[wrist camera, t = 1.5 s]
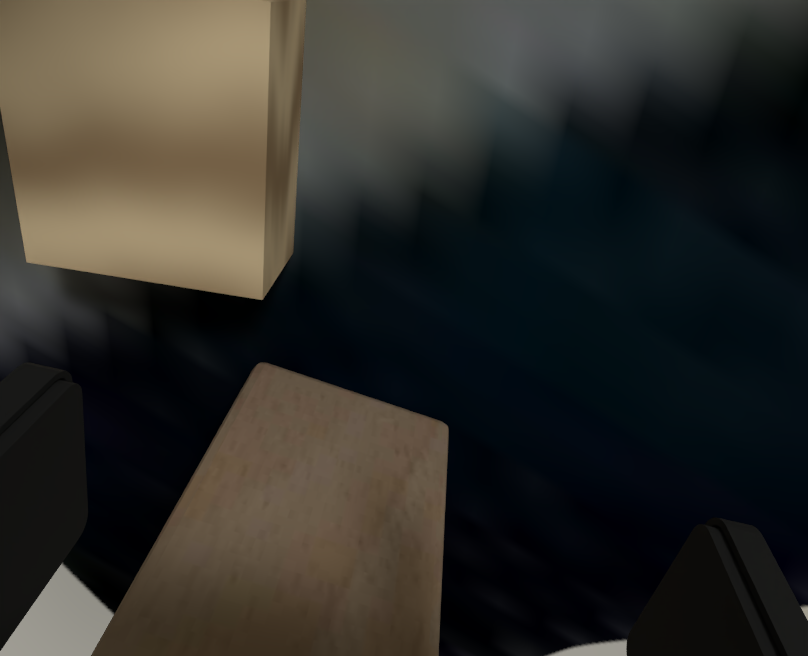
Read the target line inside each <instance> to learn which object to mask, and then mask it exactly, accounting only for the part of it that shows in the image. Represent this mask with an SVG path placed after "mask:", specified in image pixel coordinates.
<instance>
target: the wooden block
mask: <svg viewBox="0 0 808 656" xmlns="http://www.w3.org/2000/svg"><path fill="white" fill-rule="evenodd" d="M448 435H449V434H448V426H447V425H446V424H445V423H443V422H442V421H439V420H436V419H433V418H430V417H427V416H424V415H421V414H418V413H415V412H412V411H409V410H406V409H403V408H400V407H397V406H394V405H391V404H388V403H385V402H382V401H379V400H376V399H373V398H370V397H367V396H364V395H361V394H358V393H355V392H352V391H349V390H346V389H343V388H341V387H338V386H335V385H332V384H329V383H326V382H323V381H320V380H317V379H314V378H311V377H308V376H305V375H302V374H299V373H296V372H293V371H290V370H287V369H284V368H281V367H278V366H275V365H272V364H269V363H259V364H257V365H256V366H255V367H254V368H253V370H252V372H251V373H250V375H249V377H248V379H247V380H246V382H245V384H244V386H243V388H242V389H241V391H240V393H239V395H238V396H237V398H236V400H235V402H234V403H233V405H232V407H231V409H230V411H229V412H228V414H227V416H226V418H225V419H224V421H223V423H222V425H221V427H220V428H219V430H218V432H217V434H216V435H215V437H214V439H213V441H212V442H211V444H210V446H209V448H208V450H207V451H206V453H205V455H204V457H203V458H202V460H201V462H200V464H199V465H198V467H197V469H196V471H195V473H194V474H193V476H192V478H191V480H190V481H189V483H188V485H187V487H186V489H185V490H184V492H183V494H182V496H181V497H180V499H179V501H178V503H177V504H176V506H175V508H174V510H173V512H172V513H171V515H170V517H169V519H168V520H167V522H166V524H165V526H164V527H163V529H162V531H161V533H160V535H159V536H158V538H157V540H156V542H155V543H154V545H153V547H152V549H151V550H150V552H149V554H148V556H147V558H146V559H145V561H144V563H143V565H142V566H141V568H140V570H139V572H138V574H137V575H136V577H135V579H134V581H133V582H132V584H131V586H130V588H129V589H128V591H127V593H126V595H125V597H124V598H123V600H122V602H121V604H120V605H119V607H118V609H117V611H116V612H115V614H114V616H113V618H112V620H111V621H110V623H109V625H108V627H107V628H106V630H105V632H104V634H103V636H102V637H101V639H100V641H99V643H98V644H97V646H96V648H95V650H94V651H93V653H92V655H91V656H438V652H439V630H440V609H441V587H442V565H443V543H444V522H445V500H446V478H447V456H448Z"/></svg>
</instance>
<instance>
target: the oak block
mask: <svg viewBox="0 0 808 656" xmlns="http://www.w3.org/2000/svg"><path fill="white" fill-rule="evenodd" d="M305 14H306V0H0V109H1V115H2V121H3V127H4V132H5V138H6V144H7V150H8V156H9V162H10V168H11V173H12V179H13V185H14V191H15V197H16V203H17V209H18V215H19V220H20V226H21V232H22V238H23V244H24V250H25V256H26V261H27V262H28V263H35V264H41V265H47V266H53V267H60V268H66V269H72V270H78V271H84V272H91V273H97V274H103V275H109V276H116V277H122V278H128V279H134V280H141V281H147V282H153V283H159V284H165V285H172V286H178V287H184V288H190V289H197V290H203V291H209V292H215V293H222V294H228V295H234V296H240V297H247V298H253V299H259V300H263V299H264V297H265V295H266V294H267V292H268V291H269V289H270V288H271V286H272V285H273V283H274V282H275V280H276V279H277V277H278V275H279V274H280V272H281V271H282V269H283V268H284V266H285V265H286V263H287V262H288V260H289V259H290V257H291V255H292V254H293V245H294V225H295V206H296V187H297V168H298V148H299V129H300V110H301V91H302V71H303V52H304V33H305Z"/></svg>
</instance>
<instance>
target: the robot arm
mask: <svg viewBox="0 0 808 656" xmlns="http://www.w3.org/2000/svg"><path fill="white" fill-rule="evenodd" d="M87 517H88V501H87V482H86V462H85V442H84V422H83V402H82V390H81V387H80V385H79V384H76V383H73V382H72V377H71V375H70V373H69V372H67V371H64V370H60V369H55V368H51V367H46V366H42V365H38V364H33V363H23V364H22V365H20V366H19V367H17V368H16V369H15V370H14V371H13V372H11V373H10V374H9V375H8V376H7V377H6V378H4V379H3V380H2V381H1V382H0V651H1V649H2V648H3V646H4V645H5V643H6V642H7V641H8V639H9V637H10V636H11V634H12V633H13V632H14V631H15V629H16V628H17V626H18V625H19V623H20V622H21V621H22V619H23V618H24V616H25V615H26V613H27V612H28V611H29V609H30V607H31V606H32V605H33V603H34V602H35V601H36V599H37V598H38V596H39V595H40V593H41V592H42V590H43V589H44V588H45V586H46V585H47V583H48V582H49V580H50V579H51V578H52V576H53V575H54V573H55V572H56V571H57V569H58V568H59V566H60V565H61V563H62V562H63V561H64V559H65V558H66V556H67V555H68V553H69V552H70V551H71V549H72V548H73V546H74V545H75V543H76V542H77V541H78V539H79V537H80V536H81V534H82V532H83V530H84V528H85V525H86V522H87ZM627 656H808V620H807V619H806V617H805V615H804V613H803V611H802V609H801V607H800V605H799V604H798V602H797V600H796V598H795V596H794V594H793V592H792V590H791V589H790V587H789V585H788V583H787V581H786V579H785V577H784V575H783V574H782V572H781V570H780V568H779V566H778V564H777V562H776V560H775V558H774V557H773V555H772V553H771V551H770V549H769V547H768V545H767V543H766V542H765V540H764V538H763V536H762V534H761V533H760V532H759V530H758V529H757V528H755V527H754V526H752V525H747V524H743V523H738V522H734V521H729V520H725V519H721V518H712V519H710V520H708V521H707V523H706V524H705V525H701V524H699V525H697V526H696V527H695V528H694V529H693V531H692V532H691V534H690V536H689V537H688V539H687V540H686V542H685V544H684V545H683V547H682V548H681V550H680V552H679V553H678V555H677V557H676V558H675V560H674V561H673V563H672V565H671V566H670V568H669V570H668V571H667V573H666V574H665V576H664V578H663V579H662V581H661V582H660V584H659V586H658V587H657V589H656V591H655V592H654V594H653V595H652V597H651V599H650V600H649V602H648V603H647V605H646V607H645V608H644V610H643V612H642V613H641V615H640V616H639V618H638V620H637V621H636V623H635V625H634V626H633V628H632V629H631V631H630V633H629V636H628V640H627Z"/></svg>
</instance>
